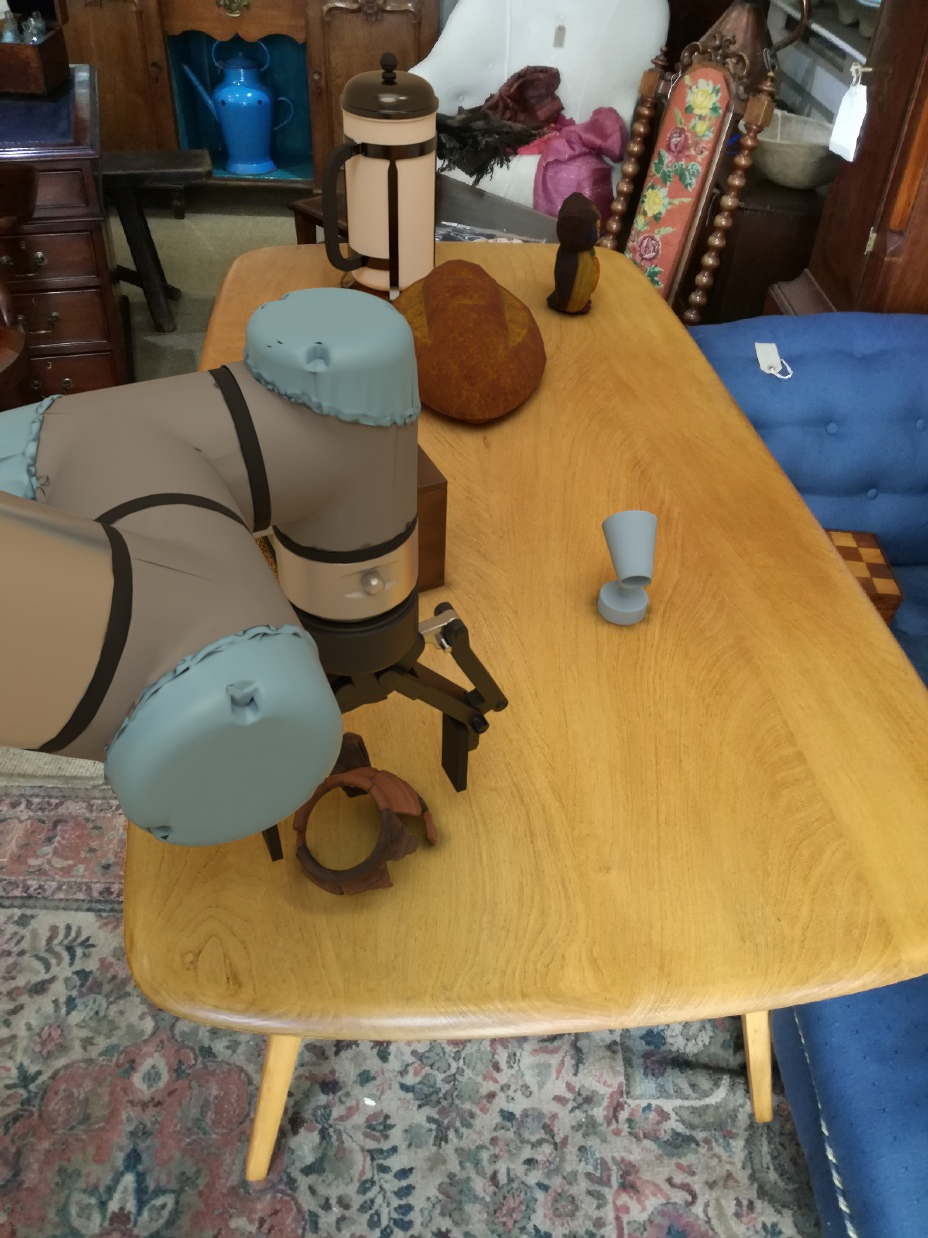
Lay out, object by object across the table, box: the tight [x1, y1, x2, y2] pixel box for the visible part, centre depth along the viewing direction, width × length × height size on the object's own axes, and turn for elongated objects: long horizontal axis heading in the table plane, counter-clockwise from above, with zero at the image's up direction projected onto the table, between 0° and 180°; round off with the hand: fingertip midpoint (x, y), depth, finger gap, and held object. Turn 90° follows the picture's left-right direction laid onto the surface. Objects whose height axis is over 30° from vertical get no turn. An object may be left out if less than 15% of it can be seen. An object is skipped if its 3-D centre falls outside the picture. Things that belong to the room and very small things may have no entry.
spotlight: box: [596, 509, 658, 626], centre depth 84 cm, size 5×10×7 cm
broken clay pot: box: [292, 731, 438, 897], centre depth 66 cm, size 12×10×8 cm
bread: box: [391, 258, 548, 424], centre depth 115 cm, size 21×33×12 cm, turn 3°
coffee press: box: [321, 51, 440, 304], centre depth 126 cm, size 17×16×30 cm
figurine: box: [546, 191, 606, 315], centre depth 129 cm, size 10×7×15 cm
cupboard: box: [260, 443, 449, 594], centre depth 89 cm, size 14×21×12 cm, turn 26°
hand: (366, 810), depth 65 cm, fingers open, 13 cm apart
